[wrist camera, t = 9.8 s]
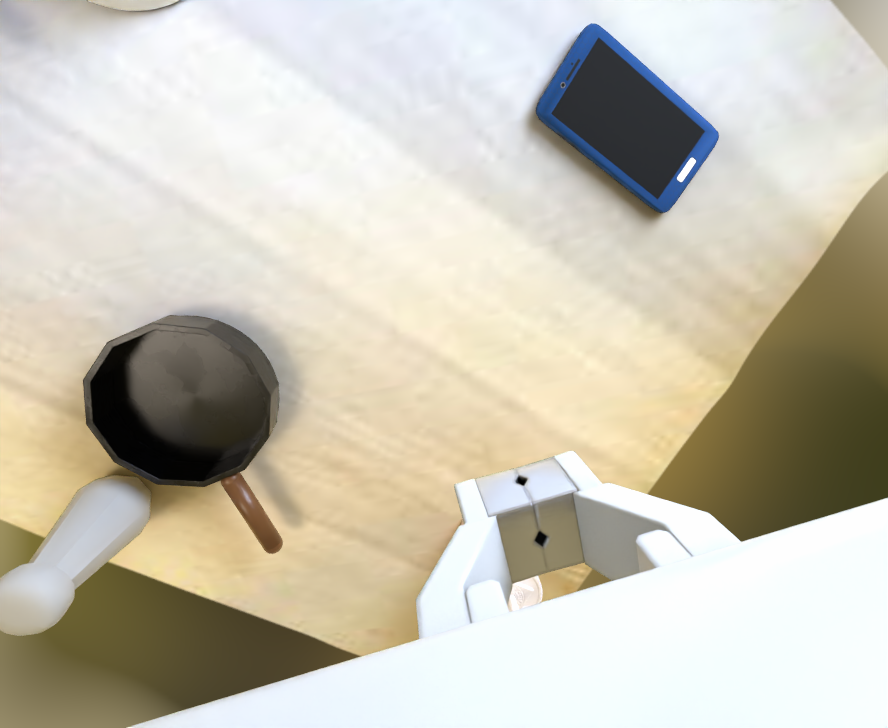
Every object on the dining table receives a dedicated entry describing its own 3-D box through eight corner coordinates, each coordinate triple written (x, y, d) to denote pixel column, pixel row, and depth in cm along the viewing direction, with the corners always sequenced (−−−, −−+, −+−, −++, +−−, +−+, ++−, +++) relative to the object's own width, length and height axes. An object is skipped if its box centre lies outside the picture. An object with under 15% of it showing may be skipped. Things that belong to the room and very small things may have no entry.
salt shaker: (97, 527, 41) (-24, 659, 29) (79, 469, 39) (-58, 583, 27) (168, 519, 42) (79, 645, 29) (153, 462, 40) (53, 570, 28)
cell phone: (661, 216, 39) (666, 216, 39) (530, 113, 36) (533, 111, 35) (717, 136, 38) (724, 135, 37) (587, 20, 34) (591, 16, 34)
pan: (76, 354, 37) (44, 368, 33) (229, 289, 37) (214, 297, 33) (218, 557, 43) (205, 586, 40) (348, 502, 43) (345, 527, 40)
